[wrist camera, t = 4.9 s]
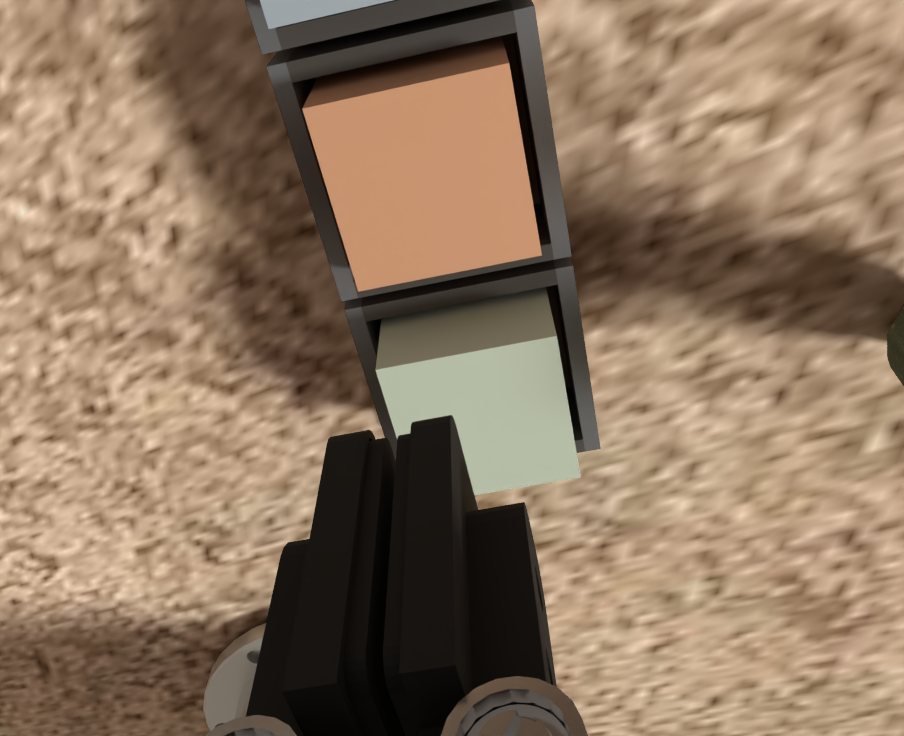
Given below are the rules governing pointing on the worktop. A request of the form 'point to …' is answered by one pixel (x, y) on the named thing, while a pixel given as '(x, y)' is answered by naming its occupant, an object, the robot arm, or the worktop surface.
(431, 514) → the robot arm
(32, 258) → the worktop surface
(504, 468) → the sage key
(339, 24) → the gray compartment tray
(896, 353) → the vegetable
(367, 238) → the terracotta key
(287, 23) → the slate key
